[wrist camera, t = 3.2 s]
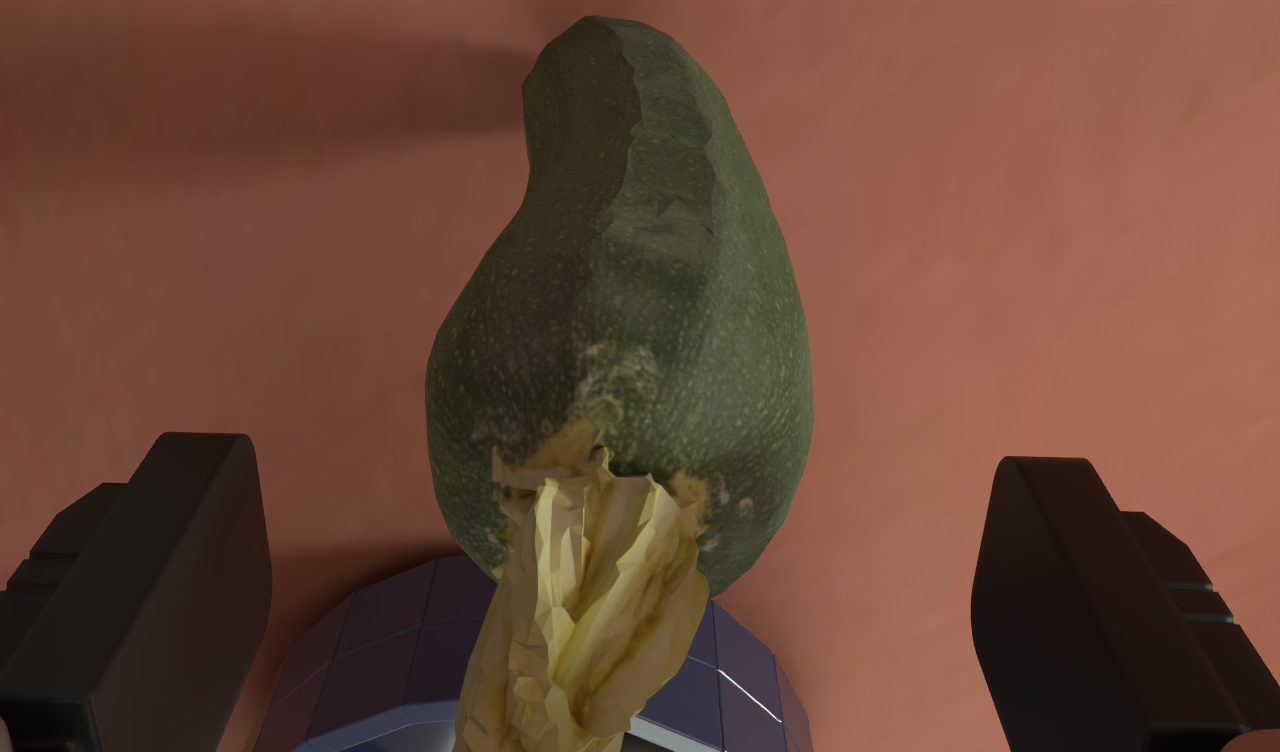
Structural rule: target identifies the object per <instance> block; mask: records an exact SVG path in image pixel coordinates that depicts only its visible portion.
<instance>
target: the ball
mask: <svg viewBox="0 0 1280 752" xmlns="http://www.w3.org/2000/svg"><path fill="white" fill-rule="evenodd" d="M620 752H673V751H671V750H668V749H666V748H663V747H661V746H658V745H656V744H653V743H651V742H648V741H646V740H644V739H641V738H639V737H636V736H634V735H631V734H627V735H624V736H623V740H622V745H621V749H620Z"/></svg>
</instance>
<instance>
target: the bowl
mask: <svg viewBox="0 0 1280 752" xmlns="http://www.w3.org/2000/svg"><path fill="white" fill-rule="evenodd" d="M497 586H498V583H497V582H495V581H494V580H493V579H491V578H490V577H489V576H488V575H487V574H486V573H485V572H484V571H483V570H482V569H481V568H480V567H479V566H478V565H477V564H476V563H475V562H474V561H473V560H472V559H471V558H470V557H469V556H468V555H463V556H453V557H444V558H439V559H438V560H437V559H434V560H432V561H429V562H427V563H424V564H422V565H419V566H417V567H414V568H412V569H409V570H407V571H404V572H402V573H399V574H397V575H394V576H392V577H389V578H387V579H384V580H382V581H379V582H376V583H374V584H371V585H369V586H366V587H364V588H361V589H359V590H357V591H356V592H353V593H352V594H350V595H349V596H348V597H347V598H346V599H344V600H343V601H342V602H341V603H340V604H338V605H337V606H336V607H335V608H334V609H332V610H331V611H330V612H329V613H328V614H326V615H325V616H324V617H323V618H322V619H320V620H319V621H318V622H317V623H316V624H315V625H313V626H312V627H311V628H310V629H309V630H307V631H306V632H305V633H304V634H303V635H301V636H300V637H299V638H298V639H297V640H295V642H294V643H293V644H292V646H291V648H290V650H289V652H288V653H287V655H286V657H285V659H284V661H283V663H282V665H281V667H280V668H279V670H278V672H277V674H276V676H275V678H274V680H273V682H272V683H271V685H270V687H269V689H268V691H267V693H266V695H265V697H264V698H263V700H262V702H261V705H260V708H259V710H258V713H257V715H256V718H255V721H254V723H253V726H252V728H251V731H250V734H249V736H248V739H247V741H246V744H245V747H244V749H243V752H452V749H453V746H454V743H455V740H456V737H455V730H454V724H455V719H456V714H457V709H458V704H459V700H460V695H461V691H462V687H463V683H464V679H465V675H466V671H467V667H468V662H469V659H470V656H471V654H472V652H473V649H474V647H475V645H476V642H477V639H478V636H479V633H480V631H481V628H482V625H483V622H484V620H485V617H486V614H487V611H488V609H489V606H490V604H491V601H492V599H493V596H494V593H495V591H496V589H497ZM630 724H631V730H629V731H627V732H624V735H627V734H631V735H634V736H636V737H639V738H641V739H644V740H646V741H648V742H651V743H653V744H656V745H658V746H661V747H663V748H666V749H668V750H671V751H673V752H813V746H812V740H811V734H810V728H809V722H808V718H807V714H806V712H805V710H804V708H803V706H802V705H801V703H800V701H799V699H798V697H797V695H796V694H795V692H794V690H793V688H792V686H791V684H790V683H789V681H788V679H787V677H786V675H785V673H784V672H783V670H782V668H781V666H780V664H779V662H778V661H777V659H776V657H775V655H774V654H773V653H772V651H770V650H769V649H768V648H767V647H766V646H765V645H764V644H762V643H761V642H760V641H759V640H758V639H757V638H756V637H754V636H753V635H752V634H751V633H750V632H749V631H747V630H746V629H745V628H744V627H743V626H742V625H741V624H739V623H738V622H737V621H736V620H735V619H734V618H732V617H731V616H730V615H729V614H728V613H727V612H726V611H724V610H723V609H722V608H721V607H720V606H719V605H718V604H716V603H715V602H714V601H713V600H711V599H708V600H707V604H706V608H705V612H704V614H703V617H702V619H701V621H700V624H699V626H698V628H697V631H696V633H695V635H694V638H693V640H692V643H691V645H690V648H689V651H688V653H687V656H686V658H685V661H684V662H683V664H682V666H681V667H680V669H679V671H678V673H677V674H676V675H675V676H673V677H672V678H671V679H670V680H669V681H668V682H667V683H665V684H664V685H663V686H662V688H661V689H660V690H659V691H658V692H656V693H655V694H654V695H653V696H651V697H650V698H649V699H648V700H647V701H646V704H645V708H644V709H643V710H641V711H640V712H639V713H638V714H637V715H636V716H634V717H633V718H632V719H631V720H630Z"/></svg>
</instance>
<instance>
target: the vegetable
mask: <svg viewBox="0 0 1280 752" xmlns="http://www.w3.org/2000/svg"><path fill="white" fill-rule="evenodd" d="M522 97H523V107H524V124H525V134H526V144H527V154H528V159H529V164H530V173H529V180H528V185H527V189H526V193H525V196H524V200H523V204H522V205H521V207H520V208H519V210H518V211H517V213H516V214H515V216H514V217H513V219H512V220H511V221H510V223H509V224H508V225H507V227H506V228H505V229H504V230H503V231H502V233H501V234H500V235H499V237H498V238H497V239H496V240H495V242H494V243H493V244H492V246H491V247H490V248H489V249H488V251H487V252H486V254H485V255H484V257H483V259H482V260H481V262H480V264H479V265H478V267H477V268H476V270H475V272H474V273H473V275H472V277H471V278H470V280H469V282H468V283H467V285H466V286H465V288H464V289H463V291H462V292H461V294H460V295H459V297H458V299H457V300H456V302H455V304H454V305H453V307H452V309H451V310H450V312H449V313H448V315H447V317H446V318H445V320H444V322H443V323H442V325H441V327H440V328H439V330H438V332H437V335H436V338H435V341H434V344H433V347H432V351H431V354H430V357H429V360H428V365H427V373H426V382H425V404H426V421H427V436H428V452H429V459H430V465H431V471H432V477H433V483H434V489H435V494H436V499H437V502H438V504H439V506H440V509H441V511H442V514H443V516H444V519H445V521H446V524H447V526H448V528H449V531H450V533H451V536H452V538H453V540H454V541H455V542H456V543H457V544H458V545H459V546H460V547H461V548H462V549H463V550H464V552H465V553H466V554H467V555H468V556H469V557H470V558H471V559H472V560H473V561H474V562H475V563H476V564H477V565H478V566H479V567H480V568H481V569H482V570H483V571H484V572H485V573H486V574H487V575H488V576H489V577H490V578H491V579H493V580H494V581H495V582H497V583H498V586H497V589H496V591H495V593H494V596H493V599H492V601H491V604H490V606H489V609H488V611H487V614H486V617H485V620H484V622H483V625H482V628H481V631H480V633H479V636H478V639H477V642H476V645H475V647H474V649H473V652H472V654H471V656H470V659H469V662H468V667H467V671H466V675H465V679H464V683H463V687H462V691H461V695H460V700H459V704H458V709H457V714H456V719H455V724H454V730H455V737H456V740H455V743H454V746H453V749H452V752H620V749H621V745H622V740H623V736H624V732H627V731H629V730H631V724H630V720H631V719H632V718H633V717H634V716H636V715H637V714H638V713H639V712H640V711H641V710H643V709H644V708H645V704H646V701H647V700H648V699H649V698H650V697H651V696H653V695H654V694H655V693H656V692H658V691H659V690H660V689H661V688H662V686H663V685H664V684H665V683H667V682H668V681H669V680H670V679H671V678H672V677H673V676H675V675H676V674H677V673H678V671H679V669H680V667H681V666H682V664H683V662H684V661H685V658H686V656H687V653H688V651H689V648H690V645H691V643H692V640H693V638H694V635H695V633H696V631H697V628H698V626H699V624H700V621H701V619H702V617H703V614H704V612H705V608H706V604H707V600H708V599H710V598H712V597H714V596H716V595H718V594H720V593H721V592H723V591H724V590H725V589H726V588H728V587H729V586H730V585H731V584H732V583H733V582H735V581H736V580H737V579H738V578H739V577H740V576H742V575H743V574H744V573H745V572H746V571H747V570H749V569H750V568H751V567H752V565H753V564H754V563H755V561H756V560H757V559H758V557H759V556H760V554H761V553H762V552H763V550H764V549H765V547H766V546H767V544H768V543H769V542H770V540H771V539H772V537H773V536H774V535H775V533H776V532H777V531H778V529H779V528H780V526H781V525H782V524H783V522H784V520H785V518H786V516H787V514H788V511H789V507H790V504H791V501H792V499H793V496H794V494H795V491H796V489H797V487H798V484H799V482H800V479H801V477H802V474H803V470H804V466H805V462H806V458H807V454H808V450H809V446H810V442H811V434H812V426H813V398H812V375H811V354H810V347H809V340H808V333H807V327H806V321H805V315H804V311H803V307H802V303H801V299H800V295H799V291H798V287H797V283H796V280H795V276H794V272H793V269H792V265H791V261H790V257H789V254H788V250H787V246H786V243H785V240H784V237H783V234H782V232H781V230H780V228H779V225H778V223H777V221H776V219H775V217H774V214H773V213H772V210H771V206H770V202H769V198H768V196H767V193H766V190H765V187H764V184H763V181H762V178H761V176H760V174H759V172H758V170H757V168H756V166H755V164H754V162H753V160H752V157H751V155H750V153H749V151H748V148H747V146H746V144H745V142H744V140H743V138H742V136H741V134H740V132H739V130H738V128H737V126H736V124H735V122H734V120H733V118H732V115H731V112H730V110H729V107H728V104H727V102H726V99H725V97H724V96H723V95H722V93H721V92H720V90H719V89H718V87H717V86H716V85H715V83H714V82H713V81H712V80H711V79H710V77H709V76H708V75H707V74H706V72H705V71H704V70H703V69H702V68H701V67H700V66H699V64H698V63H697V62H696V61H695V60H694V59H693V58H692V57H691V56H690V55H689V53H688V52H687V51H686V50H685V49H684V48H683V47H682V46H681V45H680V44H679V43H678V42H677V41H676V40H675V39H673V38H672V37H671V36H669V35H667V34H665V33H663V32H661V31H659V30H658V29H656V28H654V27H651V26H649V25H646V24H644V23H641V22H637V21H632V20H623V19H615V18H606V17H601V16H596V15H595V16H586V17H583V18H582V19H580V20H579V21H578V22H576V23H575V24H574V25H572V26H571V27H570V28H569V29H567V30H566V31H565V32H563V33H562V34H561V35H559V36H558V37H557V38H555V39H554V40H552V41H551V42H550V43H548V44H547V45H546V47H545V48H544V49H543V50H542V52H541V53H540V55H539V57H538V59H537V61H536V63H535V65H534V68H533V70H532V71H531V72H530V73H529V74H528V76H527V77H526V78H525V80H524V82H523V84H522Z"/></svg>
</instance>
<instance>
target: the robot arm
mask: <svg viewBox="0 0 1280 752" xmlns="http://www.w3.org/2000/svg"><path fill="white" fill-rule="evenodd" d="M1212 585H1213V584H1212V582H1211V581H1210V579H1209V578H1208V576H1207V575H1206V573H1205V572H1204V570H1203V569H1202V567H1201V566H1200V564H1199V563H1198V561H1197V560H1196V558H1195V557H1194V555H1193V553H1192V552H1191V550H1190V549H1189V547H1188V546H1187V545H1186V544H1185V543H1183V542H1182V541H1181V540H1179V539H1178V538H1177V537H1175V536H1174V535H1173V534H1172V533H1170V532H1169V531H1168V530H1166V529H1165V528H1164V527H1162V526H1161V525H1160V524H1158V523H1157V522H1156V521H1155V520H1153V519H1152V518H1151V517H1149V516H1148V515H1147V514H1145V513H1144V512H1129V511H1120V510H1119V509H1118V507H1117V505H1116V504H1115V502H1114V500H1113V499H1112V497H1111V495H1110V494H1109V492H1108V490H1107V489H1106V487H1105V485H1104V484H1103V482H1102V480H1101V479H1100V477H1099V475H1098V474H1097V472H1096V470H1095V469H1094V467H1093V465H1092V464H1091V463H1090V462H1089V461H1088V460H1087V459H1084V458H1063V457H1025V456H1006V457H1004V458H1003V459H1002V460H1001V461H1000V463H999V465H998V467H997V470H996V473H995V476H994V481H993V485H992V491H991V496H990V501H989V506H988V511H987V516H986V521H985V526H984V531H983V536H982V541H981V546H980V551H979V556H978V561H977V566H976V571H975V576H974V582H973V587H972V596H971V627H972V636H973V642H974V647H975V651H976V654H977V657H978V660H979V663H980V666H981V668H982V671H983V674H984V677H985V680H986V682H987V685H988V688H989V691H990V694H991V696H992V699H993V702H994V705H995V708H996V711H997V713H998V716H999V719H1000V722H1001V725H1002V727H1003V730H1004V733H1005V736H1006V739H1007V741H1008V744H1009V747H1010V750H1011V752H1280V686H1279V685H1278V683H1277V681H1276V680H1275V678H1274V677H1273V675H1272V674H1271V672H1270V671H1269V669H1268V668H1267V666H1266V665H1265V663H1264V662H1263V660H1262V659H1261V657H1260V656H1259V654H1258V653H1257V651H1256V649H1255V648H1254V646H1253V645H1252V643H1251V642H1250V640H1249V639H1248V637H1247V636H1246V634H1245V633H1244V631H1243V630H1242V628H1241V627H1240V625H1239V624H1234V622H1233V617H1234V616H1233V614H1232V613H1231V611H1230V610H1229V608H1228V607H1227V605H1226V604H1225V602H1224V601H1223V599H1222V598H1221V596H1220V595H1219V593H1218V592H1213V590H1212ZM271 596H272V569H271V560H270V553H269V546H268V539H267V531H266V524H265V517H264V510H263V503H262V495H261V488H260V481H259V474H258V467H257V459H256V454H255V450H254V446H253V443H252V441H251V439H250V438H249V437H248V436H247V435H246V434H230V433H193V432H165V433H163V434H162V435H160V436H159V438H158V439H157V440H156V442H155V443H154V445H153V446H152V448H151V449H150V451H149V452H148V453H147V455H146V456H145V458H144V459H143V461H142V462H141V464H140V465H139V467H138V468H137V470H136V471H135V473H134V474H133V476H132V477H131V479H130V480H129V482H128V483H102V484H101V485H99V486H98V487H96V488H95V489H93V490H92V491H90V492H89V493H87V494H86V495H85V496H83V497H82V498H80V499H79V500H77V501H76V502H74V503H73V504H71V505H70V506H68V507H67V508H66V509H64V510H63V511H61V512H60V513H58V514H57V515H56V516H55V518H54V519H53V520H52V522H51V523H50V525H49V526H48V527H47V529H46V530H45V531H44V533H43V534H42V535H41V537H40V538H39V540H38V541H37V542H36V544H35V545H34V546H33V548H32V549H31V550H30V557H29V559H24V560H23V561H22V563H21V564H20V565H19V567H18V568H17V569H16V571H15V572H14V574H13V575H12V576H11V578H10V579H9V580H8V582H7V589H6V591H0V752H216V749H217V747H218V744H219V742H220V740H221V737H222V735H223V732H224V730H225V727H226V725H227V723H228V720H229V718H230V715H231V713H232V710H233V708H234V706H235V703H236V701H237V698H238V696H239V694H240V691H241V689H242V686H243V684H244V681H245V679H246V677H247V674H248V672H249V669H250V667H251V664H252V662H253V660H254V657H255V655H256V652H257V650H258V647H259V645H260V643H261V640H262V638H263V635H264V632H265V629H266V626H267V622H268V617H269V612H270V606H271Z"/></svg>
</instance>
